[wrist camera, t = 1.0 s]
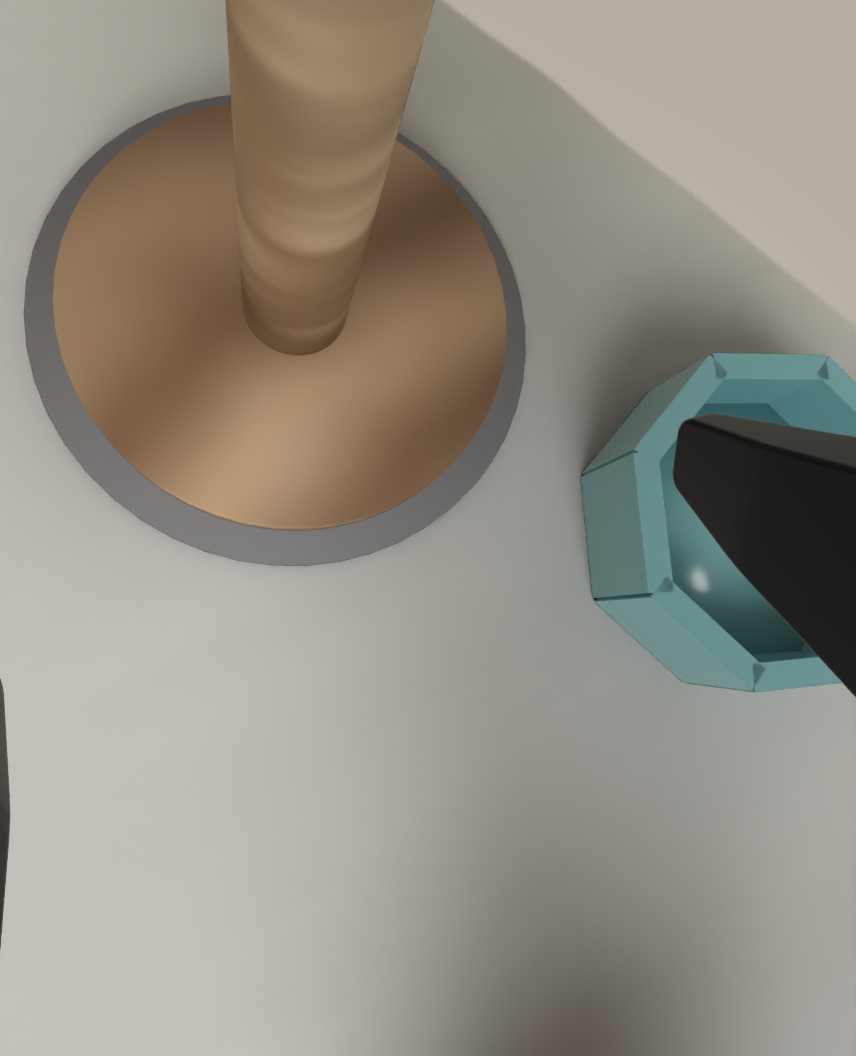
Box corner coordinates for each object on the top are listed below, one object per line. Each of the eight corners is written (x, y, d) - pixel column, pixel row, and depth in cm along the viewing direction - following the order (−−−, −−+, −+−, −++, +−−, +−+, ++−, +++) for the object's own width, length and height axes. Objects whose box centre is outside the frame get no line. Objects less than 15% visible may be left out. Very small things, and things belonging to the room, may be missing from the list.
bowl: (888, 521, 27) (980, 506, 23) (745, 740, 24) (824, 759, 21) (695, 333, 26) (761, 289, 22) (527, 540, 23) (572, 525, 20)
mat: (605, 331, 25) (610, 327, 25) (311, 671, 21) (312, 671, 21) (277, 16, 24) (277, 6, 23) (-96, 317, 20) (-103, 311, 20)
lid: (572, 326, 24) (908, 2, 12) (310, 622, 21) (384, 615, 8) (279, 46, 23) (301, -640, 11) (-44, 312, 20) (-561, -222, 7)
